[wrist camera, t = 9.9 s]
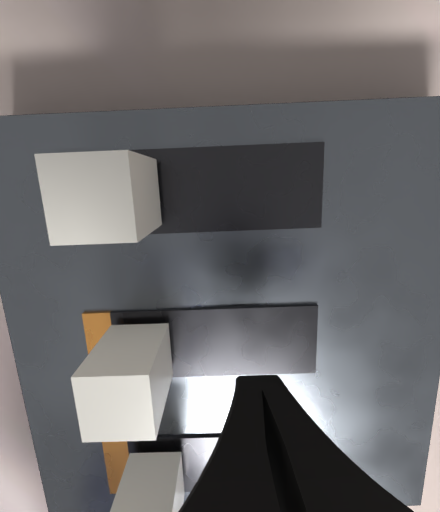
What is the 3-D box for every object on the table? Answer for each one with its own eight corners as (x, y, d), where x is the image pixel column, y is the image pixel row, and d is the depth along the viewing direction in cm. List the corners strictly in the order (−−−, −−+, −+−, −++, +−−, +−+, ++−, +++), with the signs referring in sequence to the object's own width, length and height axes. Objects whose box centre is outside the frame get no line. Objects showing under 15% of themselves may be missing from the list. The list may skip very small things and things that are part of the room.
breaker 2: (184, 492, 15) (173, 584, 11) (135, 493, 15) (109, 586, 11) (181, 451, 14) (168, 536, 11) (129, 453, 14) (100, 537, 11)
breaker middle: (172, 374, 13) (156, 440, 10) (117, 375, 13) (82, 442, 10) (168, 323, 13) (148, 375, 9) (111, 325, 13) (70, 377, 9)
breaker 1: (161, 224, 12) (137, 242, 8) (99, 227, 12) (49, 245, 8) (156, 159, 11) (127, 149, 8) (90, 161, 11) (34, 153, 8)
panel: (390, 455, 18) (422, 508, 15) (75, 463, 19) (47, 516, 16) (428, 111, 14) (484, 93, 11) (13, 130, 14) (-42, 116, 11)
